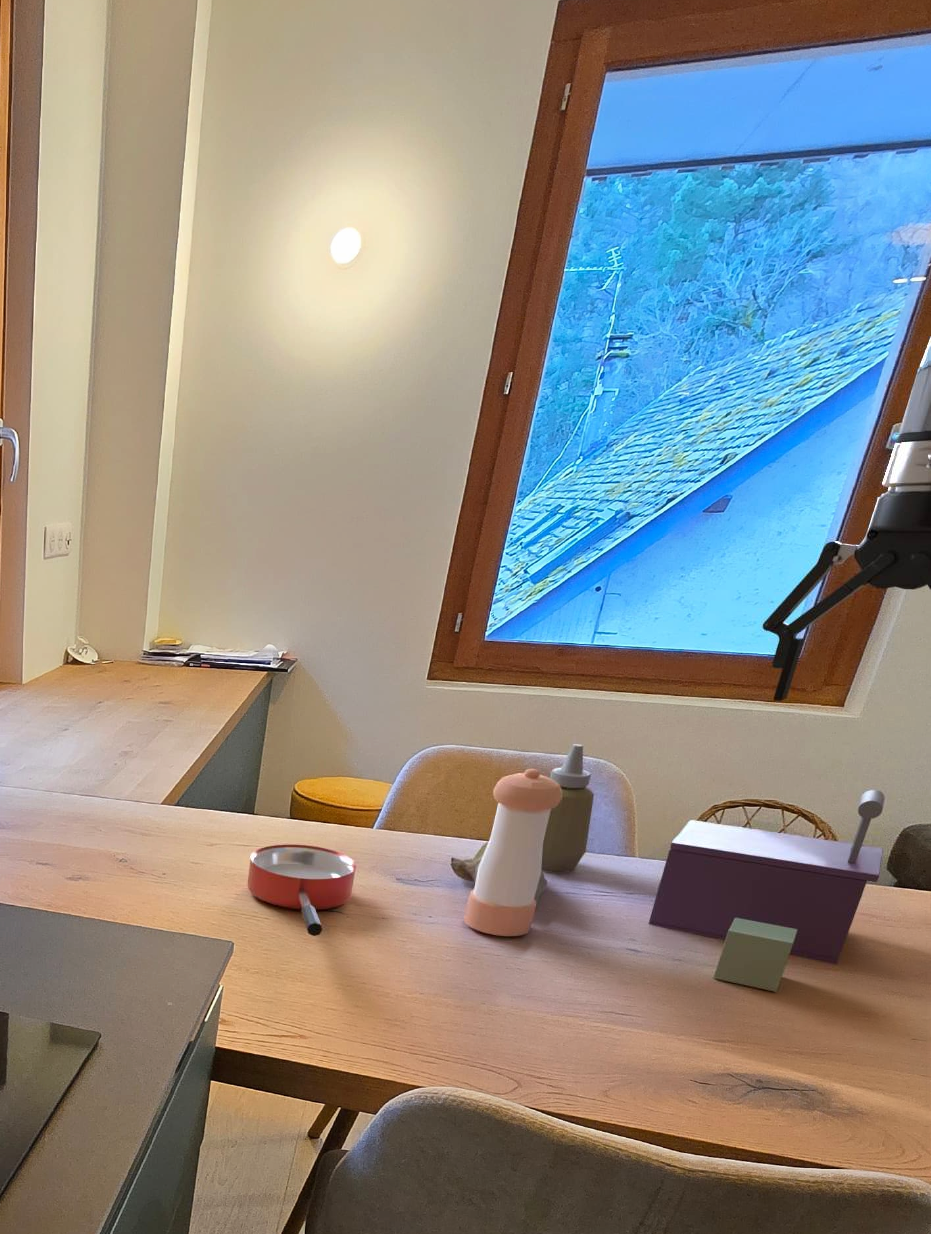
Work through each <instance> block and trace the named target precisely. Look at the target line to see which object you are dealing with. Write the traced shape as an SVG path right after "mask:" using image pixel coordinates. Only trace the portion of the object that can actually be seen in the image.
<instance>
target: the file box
mask: <svg viewBox="0 0 931 1234" xmlns="http://www.w3.org/2000/svg"><path fill="white" fill-rule="evenodd" d="M662 871H663V872H662V875H661V878H660V881H659V885H658V887H657V891H656V895H655V899H654V903H653V906H652V910H651V913H650V917H649V920H648V923H647V924H648V925H652V926H656V927H659V928H665V929H670V930H674V931H679V932H683V933H688V934H693V935H698V936H702V937H707V938H711V939H716V940H721V941H724V942H725V940H726V937H727V933H728V931H729V929H730V927H731V925H732V923H733V921H734V919H735V918H740V919H745V920H751V921H756V922H761V923H767V924H772V925H777V926H782V927H788V928H793V929H797V933H796V936H795V939H794V942H793V945H792V948H791V951H790V954H789V956H794V957H799V958H804V959H808V960H812V961H816V962H821V963H827V964H829V965H830V964H831V965H835V966H837V965H838V962H839V960H840V957H841V954H842V952H843V949H844V945H845V943H846V940H847V938H848V936H849V932H850V929H851V926H852V924H853V921H854V918H855V916H856V912H857V910H858V908H859V904H860V902H861V900H862V897H863V893H864V891H865V888H866V885H867V882H868V881H866V880H859V879H853V878H847V877H841V876H834V875H828V874H822V873H816V872H810V871H803V870H797V869H791V868H785V867H779V866H772V865H766V864H760V863H754V862H748V861H741V860H735V859H729V858H723V857H717V856H710V855H704V854H698V853H692V852H686V851H679V850H673V849H670V848H669V849H668V854H667V856H666V860H665V863H664V867H663V870H662Z"/></svg>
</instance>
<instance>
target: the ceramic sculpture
mask: <svg viewBox="0 0 931 1234" xmlns="http://www.w3.org/2000/svg"><path fill="white" fill-rule="evenodd" d="M488 842H489V841H487V842H485V843H484V844H482V846H481V847H480V848H479V850H478V851H477V852H476V854H475V855H474V856H473V858H469V859H468V858H466V859H459V858H456V857H451V859H450V862H451V863H450V866H451V869H452V871H453V872H454V874H455V875H456V876H457V877H458V878H460V879H462V880H464V881H467V882H472V883H475V882H476V877H477V871H478V867H479V864H480V862H481V859H482V857H483V854H484V852H485V849H486V847H487V845H488ZM547 884H548V880H547V879H546V877H545V873H544V871H542V869H541V875H540V879H539V882H538V886H537V889H536V893H535V896H534V899H535V901H536V902H537V901H538V900H539V899H540V898H541V896H542V895H543V893H544V891H545V889H546V887H547Z"/></svg>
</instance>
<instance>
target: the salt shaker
mask: <svg viewBox="0 0 931 1234" xmlns="http://www.w3.org/2000/svg"><path fill="white" fill-rule="evenodd" d="M492 792H493V798H494V800H495V801H496V802H497V803H498V804H497V808H496V812H495V816H494V820H493V825H492V829H491V833H490V837H489V840H488V841H487V842H488V845H487V847H486V849H485V852H484V854H483V857H482V859H481V862H480V864H479V867H478V871H477V877H476V882H474V887H473V889H472V890H471V891H470V892H469V894H468V899H467V904H466V907H465V912H464V917H463V921H464V923H465V924H466V925H467V926H468V927H469V928H471V929H474V930H476V931H478V932H481V933H485V934H488V935H494V936H499V937H518V936H519V937H520V936H523V935H526V934H528V933H530V930H531V927H532V923H533V919H534V915H535V912H536V907H537V901H535V899H534V896H535V893H536V889H537V886H538V882H539V879H540V875H541V864H542V848H543V840H544V836H545V832H546V828H547V823H548V819H549V815H550V811H551V809H552V808H555V807H556V806H557V805H558V804H559V802H560V801H561V799H562V789H561V787H560V785H559V784H558V783H557V782H556V781H554V780H552V779H550V777H548V776H546V775H544V774H543V775H542V774H541V773H540V770H537V769H536V768H528V769H526V770H525V771H524V772H518V773H517V772H516V773H513V774H509V775H506V776H502V777H501V778H500V780H498V781H497V782H496V784H495V786H494V788H493V790H492Z"/></svg>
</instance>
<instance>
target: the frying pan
mask: <svg viewBox="0 0 931 1234" xmlns="http://www.w3.org/2000/svg"><path fill="white" fill-rule="evenodd" d="M248 868H249V869H248V876H247V888H248V890H249V892H250V893H251V894H252V895H253V896H254V897H256V898H257V897H258V899H259V900H261V901H263V902H265V901H266V903H268V904H271V905H273V906H277V905H278V906H277V907H282V908H287V909H294V910H300V912H301V915H302V918H303V922H304V924H305V928H306V930H307V933H308V935H310V936H312V937H317V936H320V935H321V934H322V932H323V931H324V928H323V926H322V923H321V921H320V918H319V915H318V913H317V911H318V910H327V909H333V908H336V907H339V906H341V905H343V904H345V903H346V902H348V901H349V899H351V897H352V893H353V887H354V882H355V874H356V869H357V864H356V862H355V861H354V860H353V859H352V858H351V857H349V856H348V855H346V854H344V853H341V852H338V851H336V850H333V849H328V848H325V847H319V846H314V845H306V844H275V845H268V846H264V847H261V848H257V849H256V850H254V851H253V852H252V853H251V855H250V859H249V867H248Z"/></svg>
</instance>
